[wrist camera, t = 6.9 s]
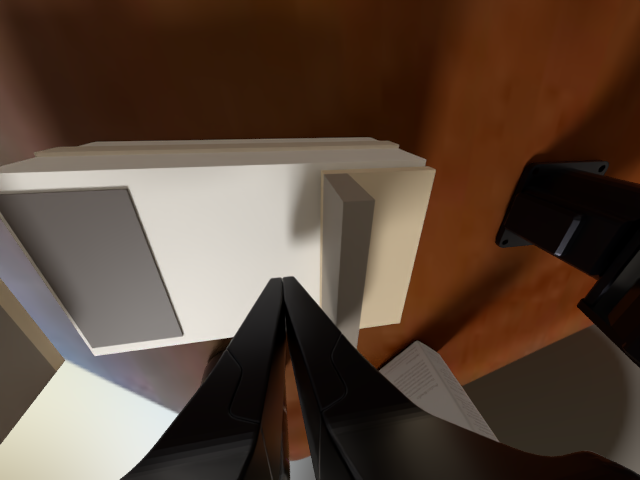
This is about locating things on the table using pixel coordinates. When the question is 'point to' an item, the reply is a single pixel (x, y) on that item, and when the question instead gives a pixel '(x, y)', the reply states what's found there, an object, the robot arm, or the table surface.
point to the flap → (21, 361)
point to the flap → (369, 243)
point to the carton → (175, 229)
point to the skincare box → (434, 387)
